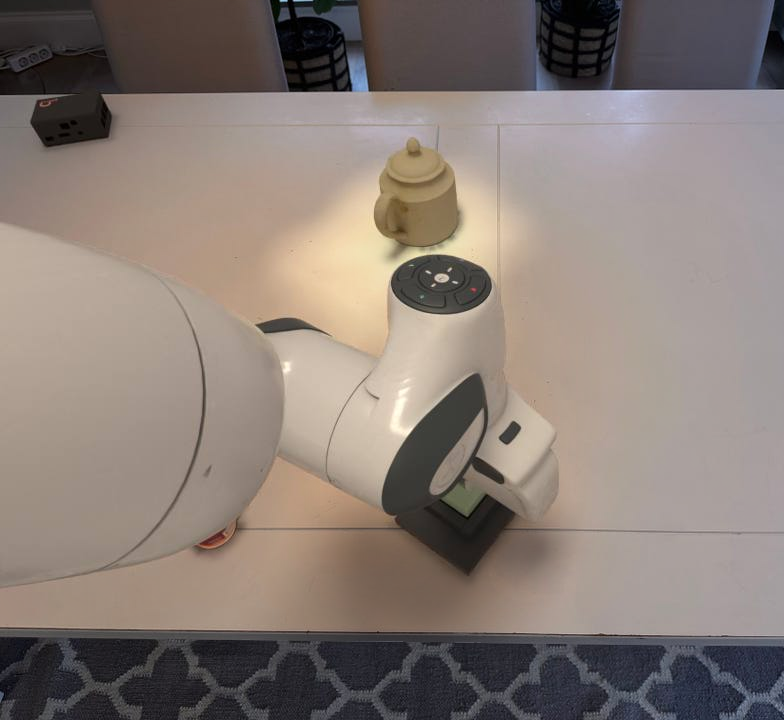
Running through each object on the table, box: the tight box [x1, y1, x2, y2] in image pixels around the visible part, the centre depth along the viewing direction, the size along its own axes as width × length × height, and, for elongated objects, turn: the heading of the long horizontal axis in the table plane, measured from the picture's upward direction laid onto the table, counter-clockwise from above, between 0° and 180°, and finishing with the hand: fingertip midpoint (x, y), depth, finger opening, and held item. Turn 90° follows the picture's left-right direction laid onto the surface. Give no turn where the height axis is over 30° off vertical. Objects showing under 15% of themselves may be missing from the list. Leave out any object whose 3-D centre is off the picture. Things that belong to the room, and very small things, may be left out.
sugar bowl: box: [373, 136, 459, 247], centre depth 96 cm, size 15×11×15 cm
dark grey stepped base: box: [394, 494, 517, 577], centre depth 73 cm, size 12×10×3 cm
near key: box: [441, 484, 487, 517], centre depth 72 cm, size 4×4×2 cm
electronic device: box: [29, 90, 112, 147], centre depth 119 cm, size 7×11×5 cm
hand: (463, 479), depth 69 cm, fingers closed
